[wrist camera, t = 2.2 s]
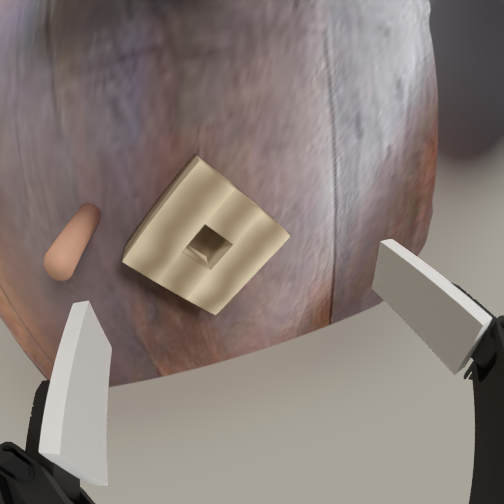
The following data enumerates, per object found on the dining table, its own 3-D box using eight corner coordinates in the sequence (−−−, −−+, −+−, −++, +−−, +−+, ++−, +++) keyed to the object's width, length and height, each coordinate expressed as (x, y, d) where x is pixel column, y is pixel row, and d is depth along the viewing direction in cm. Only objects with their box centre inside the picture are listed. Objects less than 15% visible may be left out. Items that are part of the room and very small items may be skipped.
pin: (73, 218, 35) (39, 268, 23) (85, 198, 34) (50, 242, 22) (92, 231, 36) (66, 286, 25) (104, 212, 36) (79, 261, 24)
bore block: (127, 241, 39) (121, 261, 34) (195, 153, 36) (199, 160, 31) (209, 292, 47) (215, 315, 42) (275, 220, 44) (290, 236, 39)
